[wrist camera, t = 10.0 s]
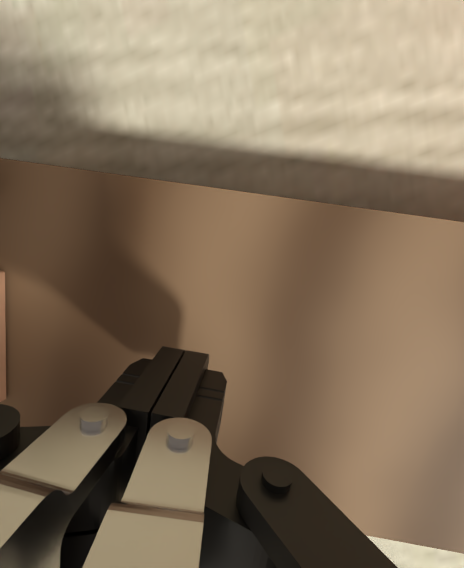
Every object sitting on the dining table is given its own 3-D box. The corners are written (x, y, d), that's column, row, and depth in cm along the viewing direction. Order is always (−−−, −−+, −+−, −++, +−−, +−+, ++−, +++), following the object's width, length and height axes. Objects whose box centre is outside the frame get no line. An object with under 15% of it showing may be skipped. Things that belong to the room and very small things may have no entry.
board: (646, 249, 13) (738, 260, 10) (536, 518, 15) (587, 576, 13) (39, 165, 14) (-9, 156, 11) (37, 428, 17) (-2, 465, 14)
